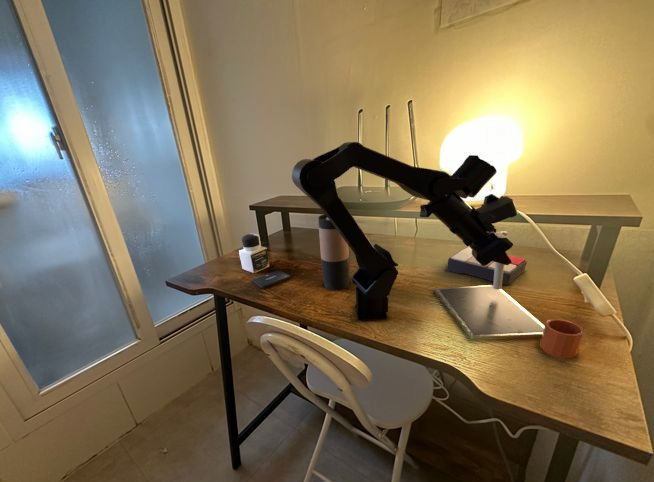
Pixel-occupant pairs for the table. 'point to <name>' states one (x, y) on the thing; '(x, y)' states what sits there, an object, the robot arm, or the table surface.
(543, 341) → the pen pot
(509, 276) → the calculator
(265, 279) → the solid state drive
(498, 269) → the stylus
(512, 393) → the table surface
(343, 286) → the travel mug
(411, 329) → the table surface
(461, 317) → the tablet
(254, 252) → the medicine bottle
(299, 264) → the table surface
